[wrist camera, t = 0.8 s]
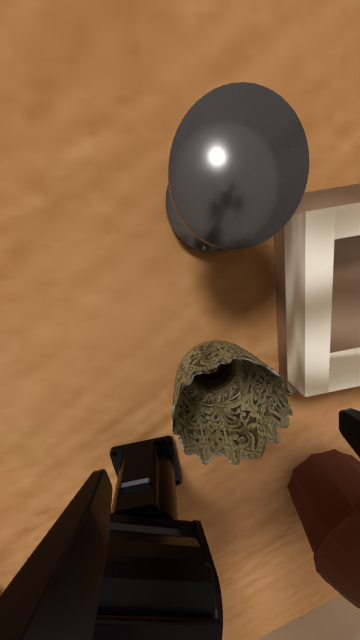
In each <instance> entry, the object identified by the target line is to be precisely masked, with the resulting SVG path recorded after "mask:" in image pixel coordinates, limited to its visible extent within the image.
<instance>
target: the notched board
mask: <svg viewBox="0 0 360 640" xmlns="http://www.w3.org/2000/svg"><path fill="white" fill-rule="evenodd" d="M274 241H275V269H276V297H277V324H278V352H279V374H280V375H281V376H282V377H283V379H284V382H283V384H284V385H285V386H286V387H287V389H288V390H289V391H290V392H291V393H296V392H300V393H301V394H302V395H303V396H304V397H308V396H313V395H318V394H323V393H328V392H333V391H338V390H343V389H348V388H353V387H357V386H360V184H355V185H348V186H342V187H336V188H330V189H324V190H318V191H312V192H306V193H304V194H303V197H302V199H301V202H300V204H299V206H298V208H297V210H296V211H295V213H294V214H293V216H292V217H291V219H290V220H289V221H288V222H287V224H286V225H285V226H284V227H283V228H282V229H281V230H280V231H279V232H278V233H276V234H275V235H274Z"/></svg>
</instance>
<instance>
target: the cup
mask: <svg viewBox="0 0 360 640" xmlns="http://www.w3.org/2000/svg"><path fill="white" fill-rule="evenodd" d="M283 382H284V379H283V377H282V376H281V375H280V374H279V373H277V372H276V371H275V370H273V369H272V368H271V367H269V366H268V365H266V364H265V363H263V362H262V361H261V360H259V359H258V358H257V357H255V356H254V355H252V354H251V353H249V352H248V351H246V350H245V349H243V348H242V347H240V346H238V345H235V344H233V343H230V342H226V341H208V342H205V343H202V344H199V345H197V346H196V347H194V348H193V349H191V350H190V351H189V352H188V353H187V354H186V355H185V357H184V358H183V359H182V361H181V363H180V365H179V368H178V370H177V374H176V379H175V386H174V396H173V407H172V418H173V434H174V435H175V434H176V435H178V437H179V441H180V444H181V447H182V449H183V451H184V453H185V454H187V455H193V454H197V455H198V458H199V460H200V461H201V462H202V463H203V464H205V465H206V464H208V463H209V462H210V461H211V456H212V454H210V453H214V454H216V455H217V456H219V455H221V454H225V455H226V456H227V457H228V460H229V462H230V463H231V464H234V465H238V464H239V462H240V459H241V456H243V457H245V458H248V459H256V458H261V457H262V455H263V453H264V449H265V444H266V441H267V438H268V439H269V440H271V441H272V443H273V442H274V443H279V440H280V439H279V436H278V434H277V432H276V428H275V426H277V427H279V428H287V427H288V426H289V418H288V416H287V415H293V413H292V410H291V408H290V406H289V404H288V399H287V398H286V397H285V396H286V395H287V396H288V395H290V396H292V394H291V392H290V391H289V390H288V389H287V387H286V386H285V385H284V384H283ZM286 414H287V415H286Z"/></svg>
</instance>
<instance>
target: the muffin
mask: <svg viewBox="0 0 360 640" xmlns="http://www.w3.org/2000/svg"><path fill="white" fill-rule="evenodd" d="M287 487H288V489H289V492H290V494H291V497H292V499H293V502H294V504H295V507H296V509H297V512H298V515H299V517H300V520H301V522H302V525H303V527H304V530H305V532H306V535H307V537H308V540H309V542H310V545H311V548H312V550H313V552H314V562H315V566H316V571H317V572H318V573H319V574H320V575H321V576H322V578H323V579H324V580H325V581H326V582H327V583H328V584H330V585H331V586H332V587H333V588H334V589H335V590H337V591H338V592H339V593H340V594H341V595H342V596H343V597H345V598H346V599H347V600H348V601H349V602H351V603H352V604H353V605H355V606H356V607H358V608H360V462H359V461H358V460H357V459H356V458H354V457H353V456H352V455H348V454H344V453H341V452H339V451H337V450H335V449H333V450H330V451H327V452H323V453H317V454H311V455H310V456H309V457H308V458H307V459H306V460H305V461H304V462H303V463H301V464H300V465H298V466H297V467H296V468H294V469H293V473H292V478H291V480H290V482H289V484H288V486H287Z"/></svg>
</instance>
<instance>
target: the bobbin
mask: <svg viewBox="0 0 360 640" xmlns="http://www.w3.org/2000/svg"><path fill="white" fill-rule="evenodd" d="M308 173H309V150H308V144H307V139H306V136H305V132H304V129H303V127H302V124H301V122H300V120H299V118H298V117H297V115H296V113H295V111H294V110H293V109H292V108H291V106H290V105H289V104H288V103H287V102H286V101H285V100H284V99H283V98H282V97H281V96H280V95H278V94H277V93H275V92H274V91H272V90H270V89H268V88H266V87H264V86H261V85H258V84H254V83H245V82H241V83H231V84H227V85H223V86H221V87H218V88H216V89H214V90H212V91H210V92H209V93H207V94H205V95H204V96H203V97H202V98H200V99H199V100H198V101H197V102H196V103H195V104H194V105H193V106H192V107H191V108H190V109H189V111H188V112H187V114H186V115H185V116H184V118H183V119H182V121H181V123H180V125H179V127H178V129H177V131H176V134H175V137H174V139H173V143H172V147H171V151H170V158H169V167H168V187H167V192H166V213H167V217H168V220H169V223H170V225H171V227H172V229H173V231H174V233H175V234H176V235H177V237H178V238H179V239H180V240H181V241H182V242H183V243H185V244H186V245H188V246H189V247H191V248H193V249H196V250H199V251H204V252H215V251H221V250H225V249H239V248H247V247H251V246H254V245H257V244H260V243H262V242H264V241H266V240H268V239H269V238H271V237H272V236H274V235H275V234H276V233H278V232H279V231H280V230H281V229H282V228H283V227H284V226H285V225H286V224H287V222H288V221H289V220H290V219H291V217H292V216H293V214H294V213H295V211H296V210H297V208H298V206H299V204H300V202H301V199H302V197H303V194H304V191H305V188H306V184H307V179H308Z"/></svg>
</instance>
